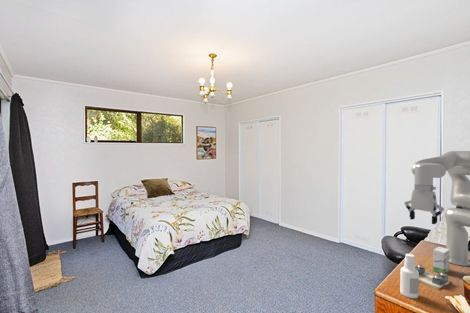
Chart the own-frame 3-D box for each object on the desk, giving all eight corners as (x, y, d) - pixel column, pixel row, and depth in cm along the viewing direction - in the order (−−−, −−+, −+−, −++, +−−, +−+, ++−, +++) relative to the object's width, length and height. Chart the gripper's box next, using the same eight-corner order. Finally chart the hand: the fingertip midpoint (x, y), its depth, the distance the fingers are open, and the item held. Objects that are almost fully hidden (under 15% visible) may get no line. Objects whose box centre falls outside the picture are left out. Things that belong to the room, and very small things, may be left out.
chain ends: (418, 270, 135) (418, 264, 135) (448, 281, 124) (448, 274, 124) (409, 274, 131) (409, 267, 131) (439, 285, 120) (439, 278, 119)
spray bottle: (419, 300, 109) (419, 259, 109) (400, 295, 113) (401, 255, 112) (417, 293, 115) (418, 254, 114) (399, 288, 118) (400, 250, 118)
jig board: (420, 270, 137) (420, 268, 137) (451, 282, 125) (451, 280, 125) (406, 276, 130) (406, 274, 130) (437, 289, 118) (437, 287, 118)
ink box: (443, 274, 133) (444, 252, 133) (432, 270, 137) (433, 249, 137) (449, 270, 138) (449, 249, 137) (438, 266, 142) (438, 246, 141)
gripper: (447, 189, 122) (447, 224, 122) (408, 185, 137) (408, 216, 138) (440, 191, 118) (439, 227, 119) (401, 186, 134) (400, 218, 134)
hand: (422, 221), depth 128 cm, fingers open, 9 cm apart
